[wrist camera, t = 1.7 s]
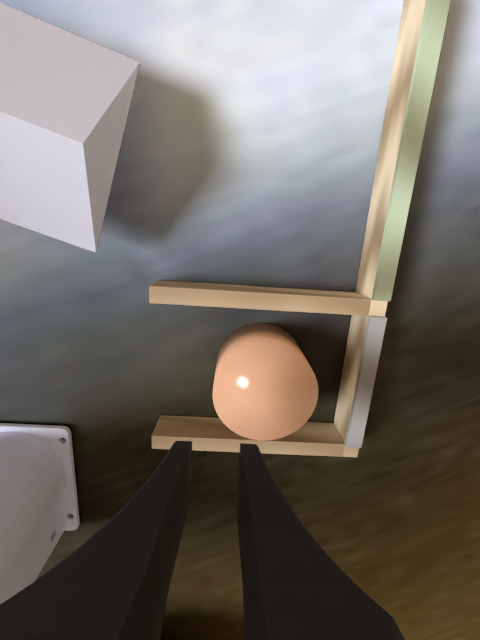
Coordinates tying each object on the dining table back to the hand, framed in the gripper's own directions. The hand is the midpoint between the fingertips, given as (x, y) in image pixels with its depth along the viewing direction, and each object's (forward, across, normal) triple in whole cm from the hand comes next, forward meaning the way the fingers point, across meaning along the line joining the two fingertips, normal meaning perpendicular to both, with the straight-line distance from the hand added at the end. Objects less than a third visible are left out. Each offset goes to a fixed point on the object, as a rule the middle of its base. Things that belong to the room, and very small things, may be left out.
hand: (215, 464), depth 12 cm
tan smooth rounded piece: (+10, -2, 0) cm, 10 cm away
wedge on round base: (+10, +12, -13) cm, 21 cm away
